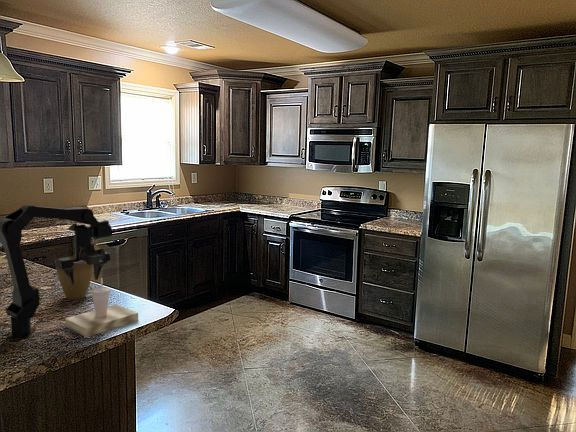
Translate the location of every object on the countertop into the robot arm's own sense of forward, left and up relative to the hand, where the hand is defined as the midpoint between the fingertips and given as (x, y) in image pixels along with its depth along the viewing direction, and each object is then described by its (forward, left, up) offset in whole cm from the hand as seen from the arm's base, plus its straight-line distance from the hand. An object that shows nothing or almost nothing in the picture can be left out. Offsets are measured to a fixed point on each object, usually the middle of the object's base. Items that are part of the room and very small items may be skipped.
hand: (84, 282), depth 165 cm
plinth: (-8, -8, -13) cm, 17 cm away
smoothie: (-8, -8, -10) cm, 15 cm away
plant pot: (+24, +11, -13) cm, 29 cm away
